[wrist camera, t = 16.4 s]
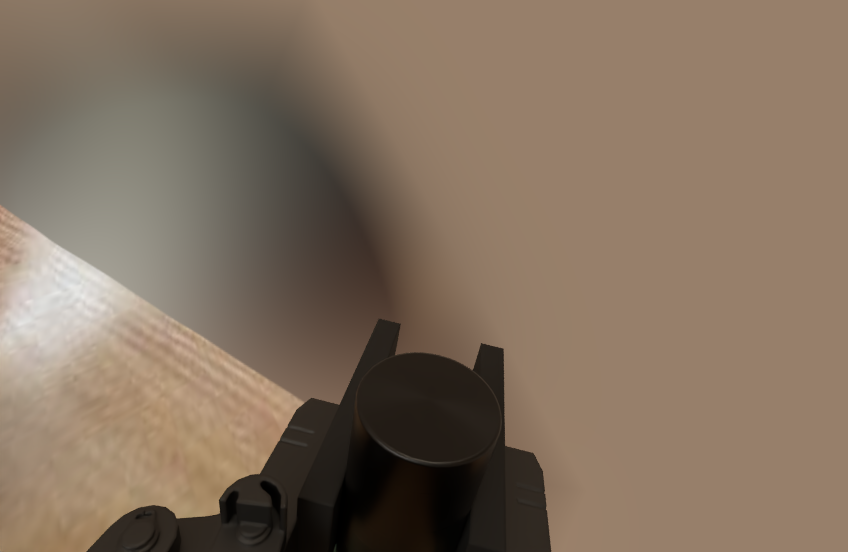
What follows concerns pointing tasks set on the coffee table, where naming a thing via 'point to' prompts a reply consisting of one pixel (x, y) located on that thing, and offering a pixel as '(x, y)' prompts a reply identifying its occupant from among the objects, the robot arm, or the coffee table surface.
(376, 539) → the lid
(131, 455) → the coffee table surface
